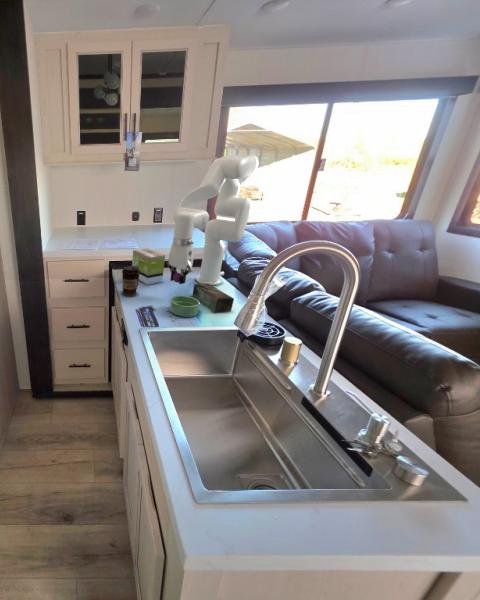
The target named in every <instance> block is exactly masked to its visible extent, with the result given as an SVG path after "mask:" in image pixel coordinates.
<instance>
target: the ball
mask: <svg viewBox="0 0 480 600" xmlns="http://www.w3.org/2000/svg"><path fill="white" fill-rule="evenodd" d="M180 276H181V272H177V273H175V274H174V276H173V282H174V283H178V284H179V280H180Z"/></svg>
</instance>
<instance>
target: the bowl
mask: <svg viewBox="0 0 480 600" xmlns="http://www.w3.org/2000/svg"><path fill="white" fill-rule="evenodd" d="M169 302H170V304H169V311H170V312H171V313H172V314H173V315H176V316H178V317H181V318H191V317H195V316H197V315H198V314H199V310H200V304H201V303H200V301H199V300H198V299H196V298H195V297H194V296H189V295H175V296H173V297H171V298H170V301H169Z"/></svg>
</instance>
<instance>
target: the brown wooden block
mask: <svg viewBox="0 0 480 600" xmlns="http://www.w3.org/2000/svg"><path fill="white" fill-rule="evenodd" d="M191 297H193V298H195V299H197V300H198V301H199V302H201V304H203V305H205V306H206V307H207V308H209V309H210V310H212V311H213V312H214V313H224V312H225V313H226V312H232V309H233V305H234V300H235V298H234V297H232V296H230V295H229V294H227V293H225V292H224V291H222V290H220V289H219V288H217V287H215V285H210V284H209V283H205V284H202V283H199V282H197V283H194V284H193V289H192V295H191Z"/></svg>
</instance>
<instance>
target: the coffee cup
mask: <svg viewBox="0 0 480 600" xmlns="http://www.w3.org/2000/svg"><path fill="white" fill-rule="evenodd" d="M121 274H122V275H121V276H122V277H121V278H122V279H121V281H122V294H123V295H124V296H129V297H134V296H136V295H138V293H137V290H138V286H139V281H140V280H139V274H140V270H139V267H136V266H132V265H128V266H124V267H123V268H122V272H121Z"/></svg>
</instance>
